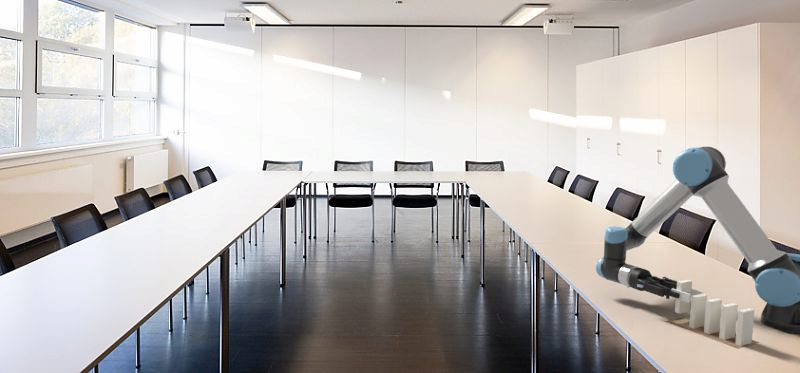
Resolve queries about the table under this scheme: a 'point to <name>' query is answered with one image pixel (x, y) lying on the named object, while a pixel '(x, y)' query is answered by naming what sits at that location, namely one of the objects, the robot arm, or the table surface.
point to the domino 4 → (728, 321)
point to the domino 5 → (744, 326)
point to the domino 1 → (680, 305)
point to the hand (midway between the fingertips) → (695, 297)
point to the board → (684, 323)
